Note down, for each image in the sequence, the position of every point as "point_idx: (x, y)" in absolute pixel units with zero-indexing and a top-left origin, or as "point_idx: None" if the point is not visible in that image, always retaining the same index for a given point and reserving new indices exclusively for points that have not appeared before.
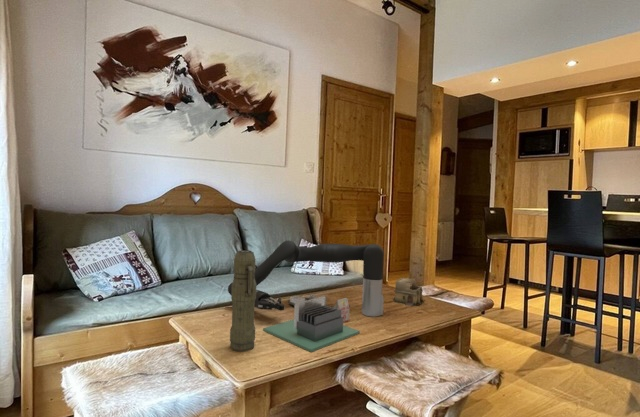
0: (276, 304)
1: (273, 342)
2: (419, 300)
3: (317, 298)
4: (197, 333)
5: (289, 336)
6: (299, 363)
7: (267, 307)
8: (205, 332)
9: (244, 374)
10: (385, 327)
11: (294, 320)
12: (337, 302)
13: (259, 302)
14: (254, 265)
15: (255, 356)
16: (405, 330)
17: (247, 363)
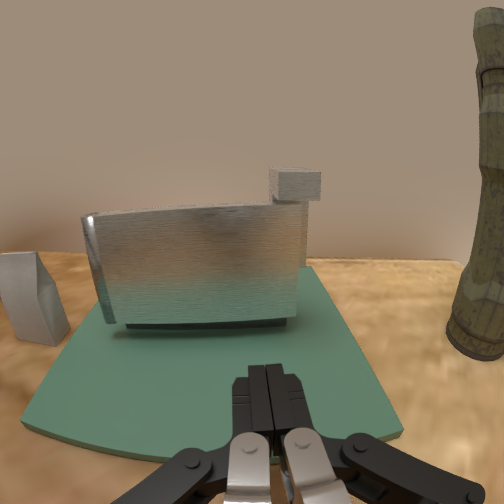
0: (293, 425)
1: (386, 333)
2: None
3: (142, 209)
4: None
5: (324, 324)
6: (356, 260)
7: (368, 496)
8: None
9: (453, 267)
10: (60, 271)
11: (297, 282)
12: (39, 259)
13: (477, 498)
14: (477, 53)
15: (440, 296)
16: (66, 256)
17: (453, 284)
